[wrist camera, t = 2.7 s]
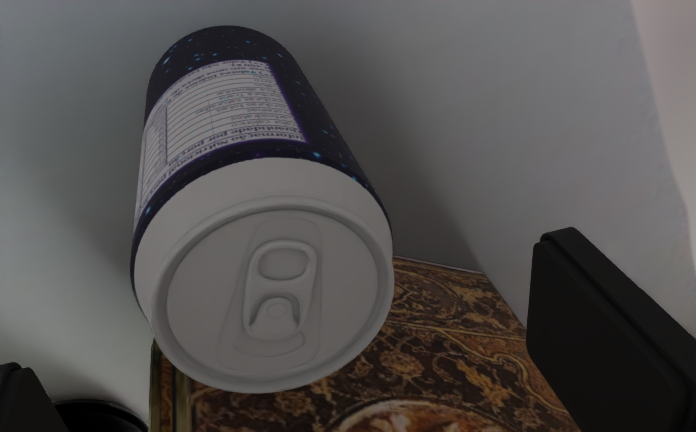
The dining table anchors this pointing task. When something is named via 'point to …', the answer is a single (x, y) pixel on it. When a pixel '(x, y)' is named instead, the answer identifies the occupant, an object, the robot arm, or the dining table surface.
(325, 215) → the beverage can
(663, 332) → the robot arm
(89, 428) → the bottle
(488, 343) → the book
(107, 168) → the dining table surface
